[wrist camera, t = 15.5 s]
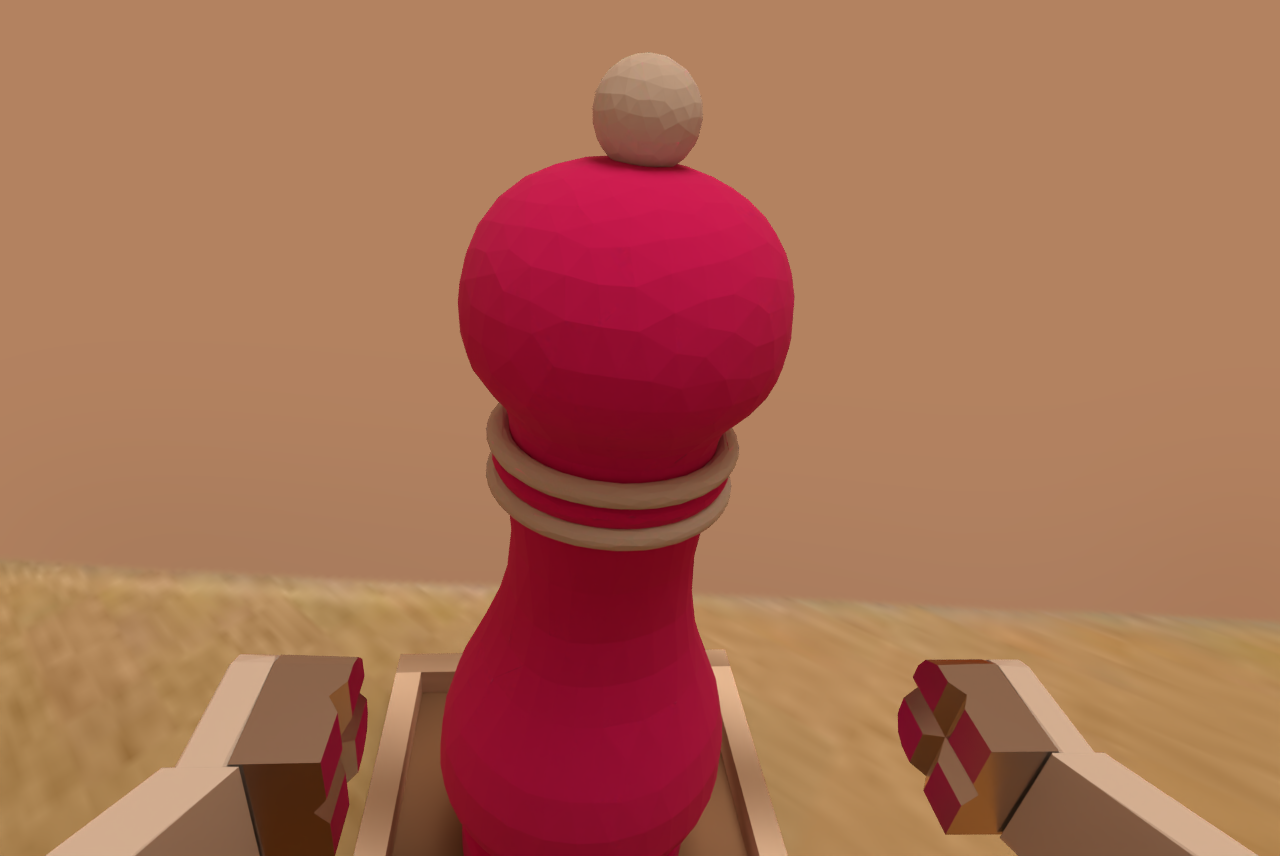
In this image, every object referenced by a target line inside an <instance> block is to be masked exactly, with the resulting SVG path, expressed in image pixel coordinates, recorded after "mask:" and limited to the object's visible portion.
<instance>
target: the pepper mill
mask: <svg viewBox="0 0 1280 856" xmlns="http://www.w3.org/2000/svg"><path fill="white" fill-rule="evenodd" d="M701 123H702V99H701V96H700V93H699V89H698V87H697V85H696V83H695V82H694V80H693V78H692V77H691V75H690V74H689V72H688V70H686V69H685V68H684V67H682V66H681V65H679V64H678V63H677V62H675V61H674V60H672V59H671V58H669V57H668V56H666V55H660V54H654V53H650V52H648V53H640V54H634V55H632V56H629V57H626V58H623V59H622V60H621V61H619V62H618V63H617V64H615V65H614V66H613V67H611V68H610V69H609V71H608V72H607V73H606V74H605V76H604V77H603V78H602V80H601V82H600V84H599V86H598V88H597V90H596V94H595V98H594V103H593V125H594V129H595V133H596V137H597V139H598V141H599V143H600V145H601V147H602V148H603V150H604V151H605V152H606V154H607V155H608V156H593V157H584V158H580V159H575V160H571V161H567V162H563V163H558V164H555V165H552V166H550V167H547V168H545V169H542V170H540V171H538V172H535V173H533V174H530V175H528V176H525V177H524V178H523V179H521V180H520V181H519V182H518V183H516V184H515V185H514V186H512V187H511V188H510V189H508V190H507V191H506V192H505V193H503V194H502V195H501V196H499V197H498V199H497V200H496V201H495V203H494V204H493V205H492V207H491V208H490V209H489V210H488V212H487V213H486V215H485V216H484V217H483V218H482V220H481V221H480V222H479V224H478V226H477V228H476V230H475V233H474V235H473V238H472V240H471V242H470V245H469V247H468V250H467V253H466V256H465V260H464V265H463V269H462V274H461V279H460V284H459V297H458V310H459V321H460V332H461V336H462V339H463V343H464V346H465V349H466V353H467V356H468V359H469V361H470V364H471V367H472V369H473V371H474V372H475V373H476V374H477V376H478V377H479V378H480V380H481V381H482V382H483V383H484V385H485V386H486V387H487V389H488V390H489V391H490V392H491V394H492V395H493V396H494V397H495V398H496V399H497V400H498V402H499V403H498V405H497V406H496V407H495V408H494V410H493V411H492V412H491V415H490V417H489V419H488V423H487V428H486V430H487V441H488V444H489V447H490V450H491V452H490V454H489V458H488V461H487V469H486V477H487V481H488V485H489V488H490V490H491V493H492V495H493V496H494V498H495V499H496V501H497V502H498V503H499V505H500V506H501V507H502V508H503V509H504V510H505V511H506V512H507V513H508V514H509V515H510V521H511V539H510V547H509V556H508V565H507V568H506V571H505V574H504V577H503V580H502V583H501V586H500V588H499V590H498V592H497V594H496V596H495V598H494V600H493V601H492V603H491V605H490V607H489V609H488V611H487V613H486V614H485V616H484V618H483V619H482V621H481V623H480V624H479V626H478V627H477V629H476V631H475V632H474V634H473V636H472V637H471V639H470V641H469V642H468V644H467V645H466V647H465V650H464V652H463V654H462V656H461V658H460V660H459V663H458V666H457V668H456V671H455V674H454V677H453V680H452V682H451V685H450V688H449V691H448V694H447V696H446V702H445V709H444V715H443V722H442V732H441V743H440V765H441V770H442V775H443V780H444V785H445V788H446V791H447V795H448V798H449V801H450V803H451V805H452V807H453V809H454V811H455V813H456V815H457V817H458V819H459V821H460V822H461V824H462V845H463V854H464V856H678V855H679V850H680V846H681V843H682V842H683V841H684V839H685V838H686V837H687V836H688V834H689V833H690V832H691V831H692V829H693V828H694V827H695V826H696V824H697V823H698V821H699V819H700V817H701V815H702V813H703V811H704V809H705V807H706V806H707V804H708V802H709V800H710V798H711V794H712V791H713V788H714V785H715V782H716V778H717V771H718V765H719V758H720V751H721V744H722V716H721V709H720V701H719V694H718V689H717V683H716V678H715V675H714V672H713V670H712V667H711V664H710V662H709V659H708V656H707V654H706V651H705V648H704V646H703V643H702V640H701V638H700V635H699V632H698V629H697V626H696V623H695V617H694V608H693V598H692V579H693V566H694V565H693V564H694V555H695V551H696V547H697V544H698V540H699V536H700V533H701V532H703V531H704V530H706V529H707V528H709V527H710V526H711V525H712V524H713V523H714V522H715V521H716V520H717V519H718V518H719V517H720V515H721V514H722V513H723V511H724V510H725V508H726V506H727V504H728V501H729V497H730V490H731V482H730V477H729V475H730V474H731V472H732V471H733V469H734V467H735V465H736V462H737V459H738V453H739V446H738V441H737V436H736V434H735V432H734V430H733V429H732V427H733V426H735V425H736V424H738V423H739V422H741V421H742V420H743V419H745V418H746V417H748V416H749V415H750V414H751V413H752V412H753V411H754V410H755V409H756V408H757V407H758V406H759V405H760V404H761V403H762V402H763V401H764V400H765V399H766V398H767V397H768V395H769V393H770V391H771V390H772V389H773V387H774V385H775V384H776V382H777V380H778V377H779V375H780V373H781V371H782V368H783V365H784V361H785V358H786V355H787V352H788V349H789V345H790V341H791V332H792V320H793V307H794V290H793V281H792V273H791V270H790V266H789V262H788V259H787V256H786V253H785V250H784V248H783V246H782V245H781V243H780V240H779V239H778V237H777V234H776V233H775V231H774V230H773V228H772V227H771V225H770V223H769V222H768V220H767V219H766V217H765V216H764V215H763V214H762V213H761V212H760V211H759V210H758V209H757V208H756V207H755V206H754V205H753V204H752V203H751V202H750V201H749V200H748V199H746V198H745V197H744V196H742V195H741V194H740V193H738V192H737V191H736V190H734V189H733V188H731V187H729V186H728V185H726V184H724V183H722V182H721V181H719V180H717V179H715V178H714V177H712V176H709V175H707V174H704V173H702V172H699V171H697V170H694V169H691V168H689V167H687V166H683V165H679V164H678V163H679V162H680V161H682V160H683V159H684V158H685V157H686V156H687V155H688V153H689V152H690V151H691V149H692V148H693V147H694V145H695V144H696V141H697V139H698V137H699V133H700V128H701Z"/></svg>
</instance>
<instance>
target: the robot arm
mask: <svg viewBox="0 0 1280 856" xmlns="http://www.w3.org/2000/svg"><path fill="white" fill-rule="evenodd" d="M363 679H364V669H363V662H362V659H361V658H359V657H337V656H304V655H250V654H240V655H239V656H238V657H237V658H236V659H235V660H234V661H233V662H232V663H231V664H230V665H229V667H228V669H227V671H226V672H225V674H224V676H223V678H222V680H221V682H220V684H219V686H218V687H217V689H216V691H215V693H214V695H213V697H212V699H211V701H210V702H209V704H208V706H207V708H206V710H205V712H204V714H203V716H202V717H201V719H200V721H199V723H198V725H197V727H196V729H195V731H194V732H193V734H192V736H191V738H190V740H189V742H188V744H187V746H186V747H185V749H184V751H183V753H182V755H181V757H180V759H179V761H178V762H177V764H176V766H175V767H171V768H161V769H159V770H158V771H157V772H155V773H154V774H153V775H151V776H150V777H149V778H147V779H146V780H145V781H143V782H142V783H141V784H140V785H138V786H137V787H136V788H134V789H133V790H132V791H130V792H129V793H128V794H126V795H125V796H124V797H122V798H121V799H120V800H118V801H117V802H116V803H114V804H113V805H112V806H110V807H109V808H108V809H106V810H105V811H104V812H102V813H101V814H100V815H98V816H97V817H96V818H94V819H93V820H92V821H90V822H89V823H88V824H87V825H85V826H84V827H83V828H81V829H80V830H79V831H77V832H76V833H75V834H73V835H72V836H71V837H69V838H68V839H67V840H65V841H64V842H63V843H61V844H60V845H59V846H57V847H56V848H55V849H53V850H52V851H51V852H49V853H48V854H47V855H45V856H335V854H336V850H337V846H338V843H339V839H340V836H341V832H342V829H343V825H344V822H345V818H346V814H347V811H348V807H349V798H348V789H347V782H348V781H349V780H350V779H352V778H353V777H354V776H355V775H356V774H357V773H358V771H359V767H360V763H361V759H362V755H363V751H364V745H365V739H366V732H367V717H368V710H367V699H366V698H365V697H364V696H363V695H361V694H360V689H361V686H362V683H363ZM913 679H914V681H915V683H916V685H917V688H916V689H915V690H913V691H912V692H911V693H909V694H908V695H907V696H905V697H904V699H903V701H902V704H901V707H900V709H899V712H898V733H899V736H900V740H901V744H902V747H903V749H904V751H905V754H906V756H907V758H908V760H909V762H910V763H911V764H912V765H914V766H915V767H916V768H917V769H918V770H920V771H921V772H922V773H923V774H924V775H926V779H925V785H924V790H923V791H924V793H925V795H926V797H927V799H928V801H929V803H930V805H931V807H932V809H933V811H934V813H935V815H936V817H937V819H938V821H939V823H940V825H941V827H942V829H943V831H944V833H945V835H970V834H1002V835H1001V836H1000V838H1001V839H1002V840H1003V841H1004V842H1005V843H1006V844H1007V845H1008V846H1009V847H1010V848H1011V849H1012V850H1013V851H1014V852H1015V853H1016V854H1017V855H1018V856H1258V855H1256V854H1255V853H1253V852H1252V851H1250V850H1249V849H1247V848H1246V847H1244V846H1243V845H1241V844H1240V843H1238V842H1237V841H1235V840H1234V839H1232V838H1231V837H1229V836H1228V835H1226V834H1225V833H1224V832H1222V831H1221V830H1219V829H1218V828H1216V827H1215V826H1213V825H1212V824H1210V823H1209V822H1207V821H1206V820H1204V819H1203V818H1201V817H1200V816H1198V815H1197V814H1195V813H1194V812H1192V811H1191V810H1189V809H1188V808H1186V807H1185V806H1183V805H1182V804H1180V803H1179V802H1177V801H1176V800H1174V799H1173V798H1171V797H1170V796H1168V795H1167V794H1165V793H1164V792H1162V791H1161V790H1159V789H1158V788H1156V787H1155V786H1153V785H1152V784H1150V783H1149V782H1147V781H1146V780H1144V779H1143V778H1141V777H1140V776H1138V775H1137V774H1135V773H1134V772H1132V771H1131V770H1129V769H1128V768H1126V767H1125V766H1123V765H1122V764H1120V763H1119V762H1117V761H1116V760H1114V759H1113V758H1111V757H1110V756H1108V755H1107V754H1105V753H1100V752H1094V751H1093V750H1092V748H1091V747H1090V746H1089V745H1088V743H1087V742H1086V741H1085V739H1084V738H1083V737H1082V735H1081V734H1080V733H1079V732H1078V730H1077V729H1076V728H1075V726H1074V725H1073V724H1072V722H1071V721H1070V720H1069V718H1068V717H1067V716H1066V715H1065V713H1064V712H1063V711H1062V709H1061V708H1060V707H1059V705H1058V704H1057V703H1056V702H1055V700H1054V699H1053V698H1052V696H1051V695H1050V694H1049V692H1048V691H1047V690H1046V688H1045V687H1044V686H1043V685H1042V683H1041V682H1040V681H1039V679H1038V678H1037V677H1036V675H1035V674H1034V673H1033V671H1032V670H1031V669H1030V668H1029V667H1028V666H1027V665H1026V664H1024V663H1023V662H1021V661H1020V660H982V659H969V660H925V661H924V662H922V663H921V664H920V665H918V667H917V669H916V672H915V674H914V676H913Z"/></svg>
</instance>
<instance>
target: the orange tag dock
mask: <svg viewBox="0 0 1280 856" xmlns="http://www.w3.org/2000/svg"><path fill="white" fill-rule="evenodd" d="M705 651H706V654H707V656H708V659H709V662H710V664H711V667H712V670H713V672H714V675H715V678H716V683H717V689H718V694H719V701H720V709H721V716H722V744H721V751H720V758H719V765H718V771H717V778H716V782H715V785H714V788H713V791H712V794H711V798H710V800H709V802H708V804H707V806H706V807H705V809H704V811H703V813H702V815H701V817H700V819H699V821H698V823H697V824H696V826H695V827H694V828H693V829H692V831H691V832H690V833H689V834H688V836H687V837H686V838H685V839H684V841H683V842H682V843H681V846H680V850H679V855H678V856H788V855H787V852H786V848H785V845H784V842H783V839H782V835H781V832H780V829H779V825H778V822H777V819H776V816H775V812H774V809H773V806H772V802H771V799H770V796H769V792H768V789H767V786H766V783H765V779H764V776H763V773H762V769H761V766H760V763H759V760H758V756H757V753H756V750H755V746H754V743H753V740H752V737H751V733H750V730H749V727H748V723H747V720H746V717H745V714H744V710H743V707H742V704H741V700H740V697H739V694H738V691H737V687H736V684H735V681H734V677H733V674H732V671H731V668H730V664H729V661H728V658H727V654H726V651H725V649H714V650H705ZM462 654H463V653H454V654H401V655H400V659H399V663H398V668H397V672H396V676H395V680H394V685H393V689H392V693H391V698H390V702H389V706H388V710H387V715H386V719H385V723H384V728H383V732H382V736H381V740H380V745H379V749H378V753H377V758H376V762H375V766H374V770H373V775H372V779H371V783H370V787H369V792H368V796H367V800H366V805H365V809H364V813H363V817H362V822H361V826H360V830H359V835H358V839H357V843H356V847H355V852H354V856H464V854H463V845H462V824H461V822H460V821H459V819H458V817H457V815H456V813H455V811H454V809H453V807H452V805H451V803H450V801H449V798H448V795H447V791H446V788H445V785H444V780H443V775H442V770H441V765H440V743H441V732H442V722H443V715H444V709H445V702H446V696H447V694H448V691H449V688H450V685H451V682H452V680H453V677H454V674H455V671H456V668H457V666H458V663H459V660H460V658H461V656H462Z"/></svg>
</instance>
